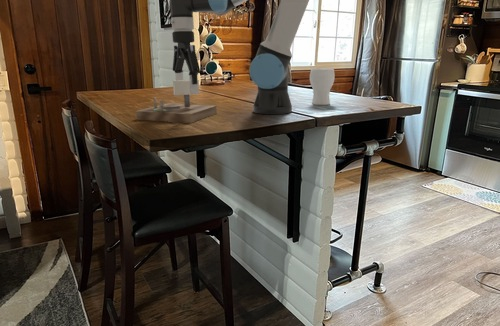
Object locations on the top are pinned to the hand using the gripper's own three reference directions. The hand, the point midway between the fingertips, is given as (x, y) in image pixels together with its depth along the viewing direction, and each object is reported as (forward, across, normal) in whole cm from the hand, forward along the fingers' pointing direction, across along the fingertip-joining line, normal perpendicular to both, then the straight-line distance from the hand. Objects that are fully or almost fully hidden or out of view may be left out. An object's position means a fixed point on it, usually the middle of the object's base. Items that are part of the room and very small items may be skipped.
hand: (187, 92), depth 141 cm
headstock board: (+9, -1, -4) cm, 10 cm away
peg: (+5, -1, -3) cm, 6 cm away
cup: (+9, +4, +60) cm, 61 cm away
